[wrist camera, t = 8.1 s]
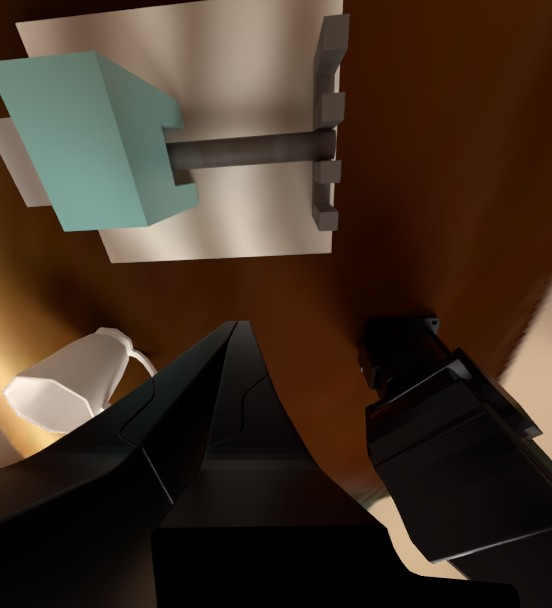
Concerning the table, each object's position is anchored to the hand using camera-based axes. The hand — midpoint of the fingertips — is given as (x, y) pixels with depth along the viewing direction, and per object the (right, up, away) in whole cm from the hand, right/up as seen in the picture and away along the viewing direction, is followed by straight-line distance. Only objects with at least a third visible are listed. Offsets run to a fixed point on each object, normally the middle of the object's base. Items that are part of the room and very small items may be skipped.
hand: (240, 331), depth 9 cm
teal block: (-6, +11, +8) cm, 14 cm away
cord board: (-4, +11, +9) cm, 15 cm away
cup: (-15, -4, +18) cm, 23 cm away
